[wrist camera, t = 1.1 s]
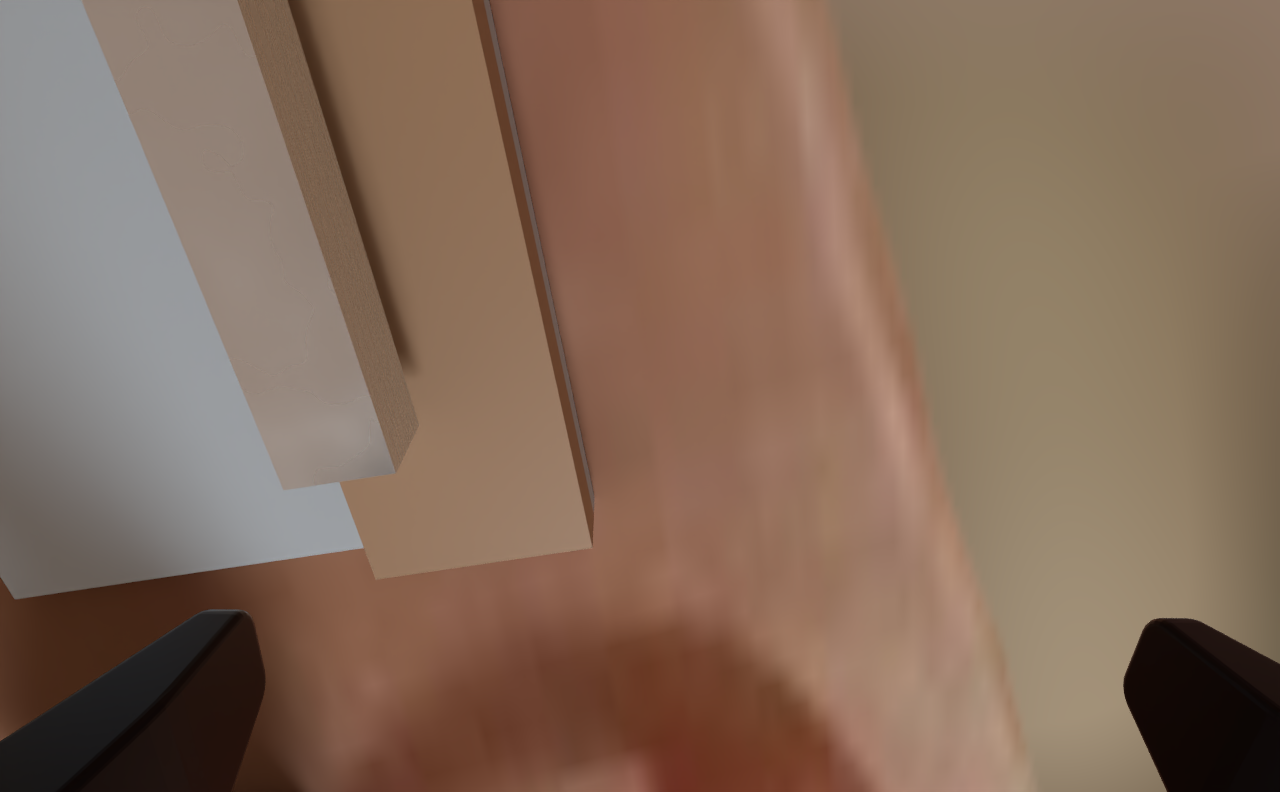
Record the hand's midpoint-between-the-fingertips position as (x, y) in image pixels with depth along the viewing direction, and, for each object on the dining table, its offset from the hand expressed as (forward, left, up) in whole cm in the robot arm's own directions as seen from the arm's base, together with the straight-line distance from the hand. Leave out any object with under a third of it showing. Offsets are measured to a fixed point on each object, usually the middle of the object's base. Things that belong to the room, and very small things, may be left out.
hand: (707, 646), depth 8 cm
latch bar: (-6, +5, -9) cm, 12 cm away
